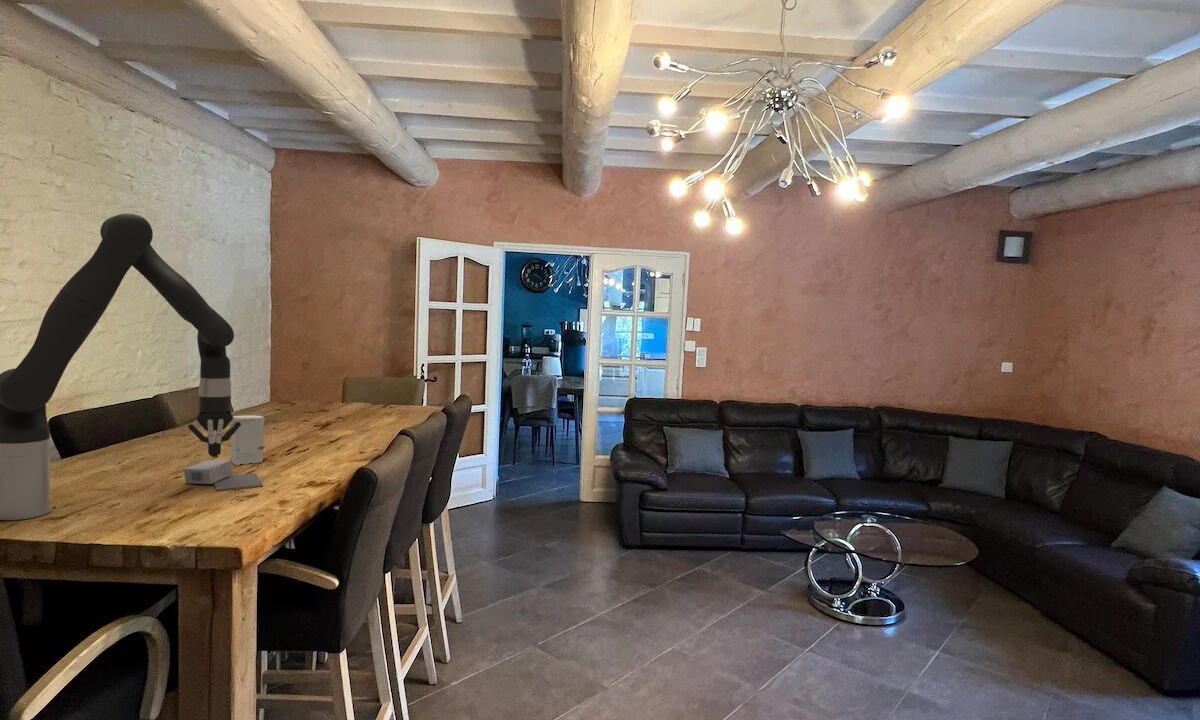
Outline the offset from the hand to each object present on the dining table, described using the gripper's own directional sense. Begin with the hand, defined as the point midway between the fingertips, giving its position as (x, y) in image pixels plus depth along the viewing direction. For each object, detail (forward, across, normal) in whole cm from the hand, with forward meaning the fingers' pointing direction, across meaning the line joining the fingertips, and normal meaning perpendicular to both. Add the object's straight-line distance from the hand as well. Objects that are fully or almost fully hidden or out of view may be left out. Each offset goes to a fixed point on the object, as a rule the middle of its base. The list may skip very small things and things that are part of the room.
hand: (214, 456), depth 174 cm
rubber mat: (+8, +6, 0) cm, 10 cm away
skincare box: (+8, +11, +25) cm, 29 cm away
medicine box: (+6, -4, +2) cm, 7 cm away
